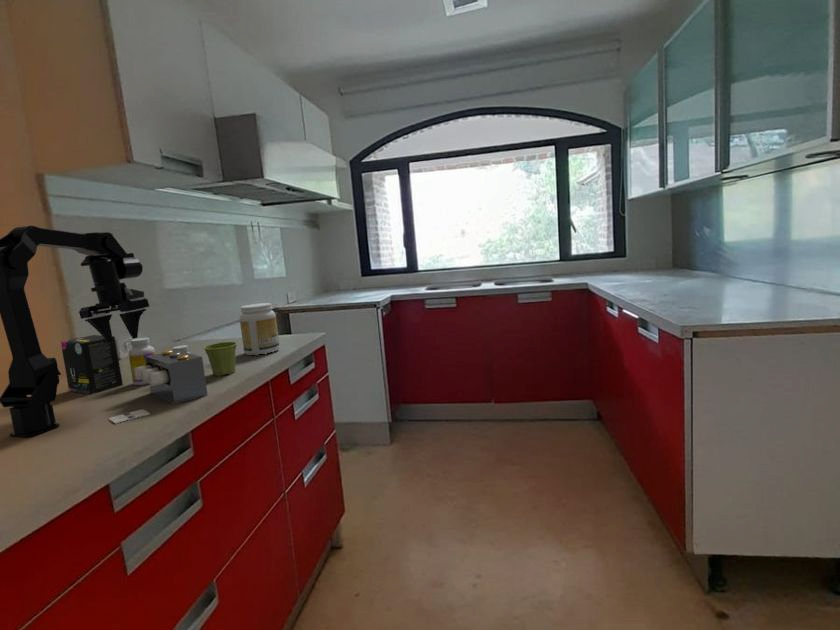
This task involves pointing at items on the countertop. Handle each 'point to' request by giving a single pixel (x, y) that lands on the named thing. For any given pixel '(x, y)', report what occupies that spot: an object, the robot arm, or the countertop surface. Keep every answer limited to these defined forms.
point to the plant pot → (221, 357)
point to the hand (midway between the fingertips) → (122, 339)
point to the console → (179, 375)
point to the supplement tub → (259, 329)
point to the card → (129, 416)
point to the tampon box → (91, 364)
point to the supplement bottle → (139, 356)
